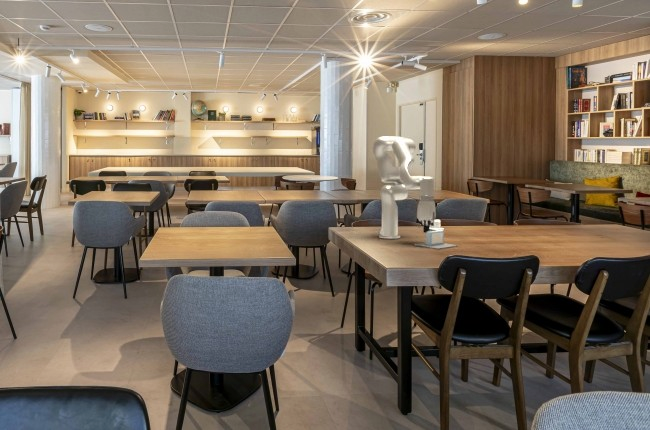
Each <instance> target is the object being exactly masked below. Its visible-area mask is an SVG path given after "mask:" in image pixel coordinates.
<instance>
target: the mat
mask: <svg viewBox="0 0 650 430" xmlns="http://www.w3.org/2000/svg"><path fill="white" fill-rule="evenodd" d="M412 246H415V247H420V248H427V249H432V250H445V249H451V248H456V247H458V245H456V244H450V243H446V242H444V244H442V245H435V246H426V242H419V243H413V244H412Z"/></svg>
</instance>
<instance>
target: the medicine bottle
mask: <svg viewBox="0 0 650 430" xmlns="http://www.w3.org/2000/svg"><path fill="white" fill-rule="evenodd" d="M441 223H442V222H441V220H440V219H436V218H435V222H433V223H431V225H430V231H437V230H443V231H444V232H445V229H444V227H441Z"/></svg>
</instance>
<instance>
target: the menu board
mask: <svg viewBox="0 0 650 430" xmlns="http://www.w3.org/2000/svg"><path fill="white" fill-rule="evenodd" d="M425 234H426V236H425V237H426V238H425V243H426V246H435V245H442V244H444V243H445V240H444V239H445V238H444V237H445V230H444V231H443V230H437V231H429V232H426V233H425Z"/></svg>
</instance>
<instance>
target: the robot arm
mask: <svg viewBox="0 0 650 430" xmlns="http://www.w3.org/2000/svg"><path fill="white" fill-rule="evenodd" d="M372 148H373V153H374V157H375V160H376V163H377V168H378V169H377V170H378V173H379V174H378V175H379V178H380V181H381V182H383V183H387V184H384V185H383V186H381V188H380V191H379V192H380V193H379V195H380V200H381V229H378V230H377V233H378V238H380V239H387V240H389V239H391V240H392V239H401V234H399V232H398V228H399V227H398V226H399V224H398V223H399V219H398V218H399V208H398V204H397V202H396V201H403V200H406V199H407V198H408V196H409V190H410V191H412V190H414V191H415V190H420V191H419V197H418V199H419V201H418V204H417V212H416V218H417V219H418V222H421V223H422V225H423V233H424V234H426V232H429V231H430V225H431V223H433V222H435V219H436V216H437V215H436V213H437V212H436V211H437V210H436V203H435V178H434V177H433V176H424V175H410V173H409V171H408V168H409V167H410V166H412V165H413V164H414V162H415V157H414V156H413V153H414V152H415V151H416V143H415V141H414V140H412V139H411V138H407V137H403V136H391V135H388V136H386V135H385V136H384V135H383V136H379V137H378V138H376V139H375V140H374V143H373V147H372ZM387 151H389V152H392V151H393V153H394V156H395V157H396V159H397V161H398V164H399V165H400V166H396V165H395V166H393V163H392V162H393V161H392V158H391V157H390V154H388V152H387ZM388 183H394V184H388Z"/></svg>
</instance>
